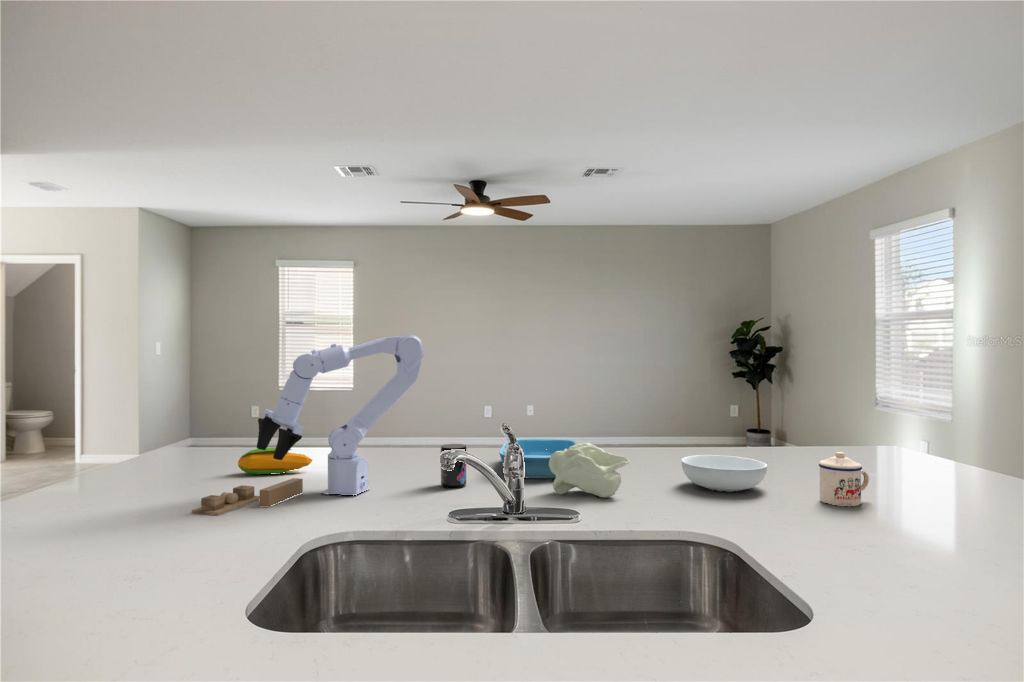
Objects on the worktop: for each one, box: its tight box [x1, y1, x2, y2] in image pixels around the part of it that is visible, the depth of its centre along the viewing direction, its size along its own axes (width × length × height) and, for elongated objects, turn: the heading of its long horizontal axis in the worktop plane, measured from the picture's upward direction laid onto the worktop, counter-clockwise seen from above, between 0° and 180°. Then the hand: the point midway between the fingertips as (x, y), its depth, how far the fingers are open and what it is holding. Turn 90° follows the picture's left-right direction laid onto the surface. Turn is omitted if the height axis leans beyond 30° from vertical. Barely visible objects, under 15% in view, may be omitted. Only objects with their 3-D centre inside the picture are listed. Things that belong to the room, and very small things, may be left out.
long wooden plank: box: [259, 477, 304, 507], centre depth 154 cm, size 3×13×4 cm, turn 164°
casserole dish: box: [499, 437, 578, 479], centre depth 190 cm, size 37×22×7 cm, turn 175°
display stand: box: [191, 485, 260, 516], centre depth 148 cm, size 7×15×3 cm, turn 163°
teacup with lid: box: [818, 451, 870, 508], centre depth 152 cm, size 12×9×12 cm
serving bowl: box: [680, 454, 768, 493], centre depth 166 cm, size 21×21×7 cm
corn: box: [237, 447, 313, 475], centre depth 184 cm, size 7×8×20 cm
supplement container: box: [440, 443, 468, 490], centre depth 168 cm, size 7×7×10 cm
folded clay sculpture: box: [549, 442, 631, 499], centre depth 160 cm, size 18×13×16 cm
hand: (268, 454), depth 155 cm, fingers open, 7 cm apart
